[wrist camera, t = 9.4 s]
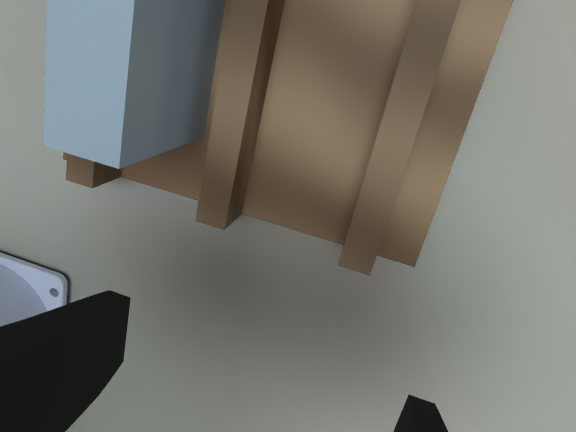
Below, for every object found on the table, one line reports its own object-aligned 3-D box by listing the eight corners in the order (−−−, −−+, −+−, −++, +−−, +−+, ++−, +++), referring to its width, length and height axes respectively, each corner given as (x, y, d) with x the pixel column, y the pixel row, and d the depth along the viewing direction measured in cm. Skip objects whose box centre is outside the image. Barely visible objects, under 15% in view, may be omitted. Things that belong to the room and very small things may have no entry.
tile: (203, 137, 18) (119, 169, 13) (148, 121, 19) (42, 145, 13) (244, -122, 15) (155, -227, 10) (177, -135, 16) (53, -244, 10)
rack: (413, 256, 19) (415, 289, 16) (77, 154, 21) (29, 168, 19) (573, -179, 14) (617, -241, 11) (101, -254, 16) (37, -320, 13)
